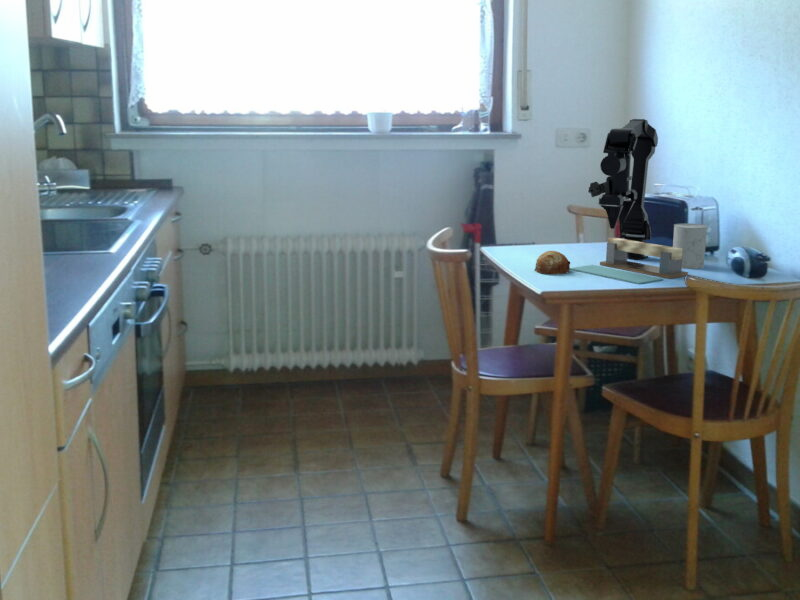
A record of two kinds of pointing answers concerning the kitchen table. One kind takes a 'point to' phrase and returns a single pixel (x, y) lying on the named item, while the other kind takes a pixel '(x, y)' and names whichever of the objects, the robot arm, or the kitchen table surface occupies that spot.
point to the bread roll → (552, 263)
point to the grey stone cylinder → (691, 244)
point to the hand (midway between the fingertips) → (616, 226)
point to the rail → (646, 248)
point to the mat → (616, 274)
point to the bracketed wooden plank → (665, 270)
